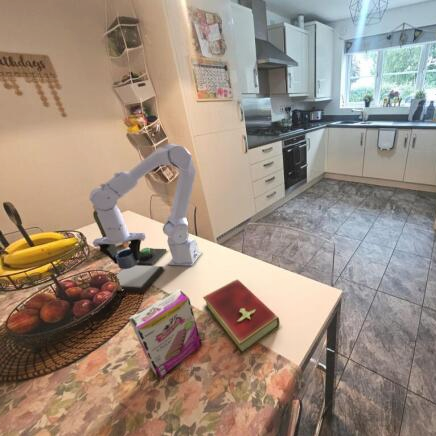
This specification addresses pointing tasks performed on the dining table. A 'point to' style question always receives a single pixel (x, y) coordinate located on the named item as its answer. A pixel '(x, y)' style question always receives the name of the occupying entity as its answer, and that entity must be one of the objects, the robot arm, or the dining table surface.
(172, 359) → the candy bar box
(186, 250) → the robot arm
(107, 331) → the dining table surface
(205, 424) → the dining table surface
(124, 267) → the cup
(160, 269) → the scale
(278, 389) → the dining table surface
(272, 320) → the hardcover book
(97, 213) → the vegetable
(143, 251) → the button
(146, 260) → the block
